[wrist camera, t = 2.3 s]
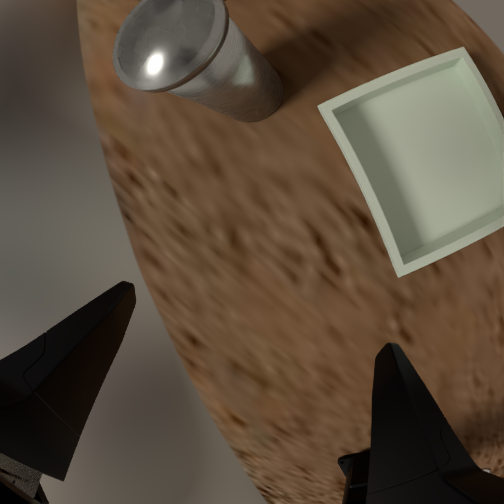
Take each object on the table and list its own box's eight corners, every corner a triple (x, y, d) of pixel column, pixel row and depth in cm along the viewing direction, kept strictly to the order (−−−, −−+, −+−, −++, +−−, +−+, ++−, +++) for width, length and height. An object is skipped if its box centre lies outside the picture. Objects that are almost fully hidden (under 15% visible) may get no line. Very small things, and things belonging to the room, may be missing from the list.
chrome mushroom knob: (301, 103, 18) (247, 33, 8) (236, 139, 20) (134, 115, 10) (265, 48, 17) (191, -36, 7) (206, 84, 19) (102, 36, 9)
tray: (517, 204, 14) (534, 208, 12) (392, 265, 19) (398, 277, 16) (452, 59, 13) (463, 46, 11) (321, 114, 18) (317, 105, 15)
